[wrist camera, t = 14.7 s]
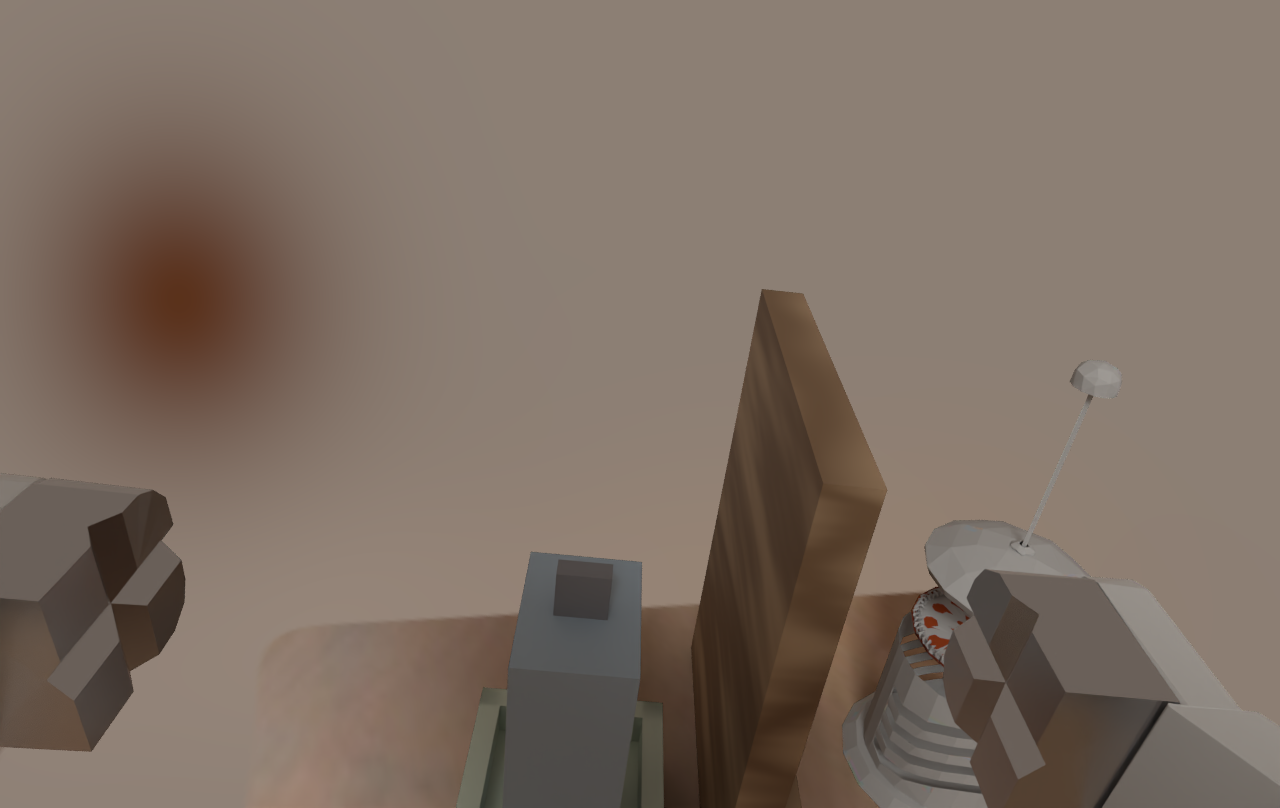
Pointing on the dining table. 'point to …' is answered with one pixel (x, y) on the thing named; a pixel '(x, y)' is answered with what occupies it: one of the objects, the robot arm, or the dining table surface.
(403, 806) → the dining table surface
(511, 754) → the grey block with tab
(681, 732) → the dining table surface
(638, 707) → the pale green open box
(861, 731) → the french press
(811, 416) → the wooden flat block
